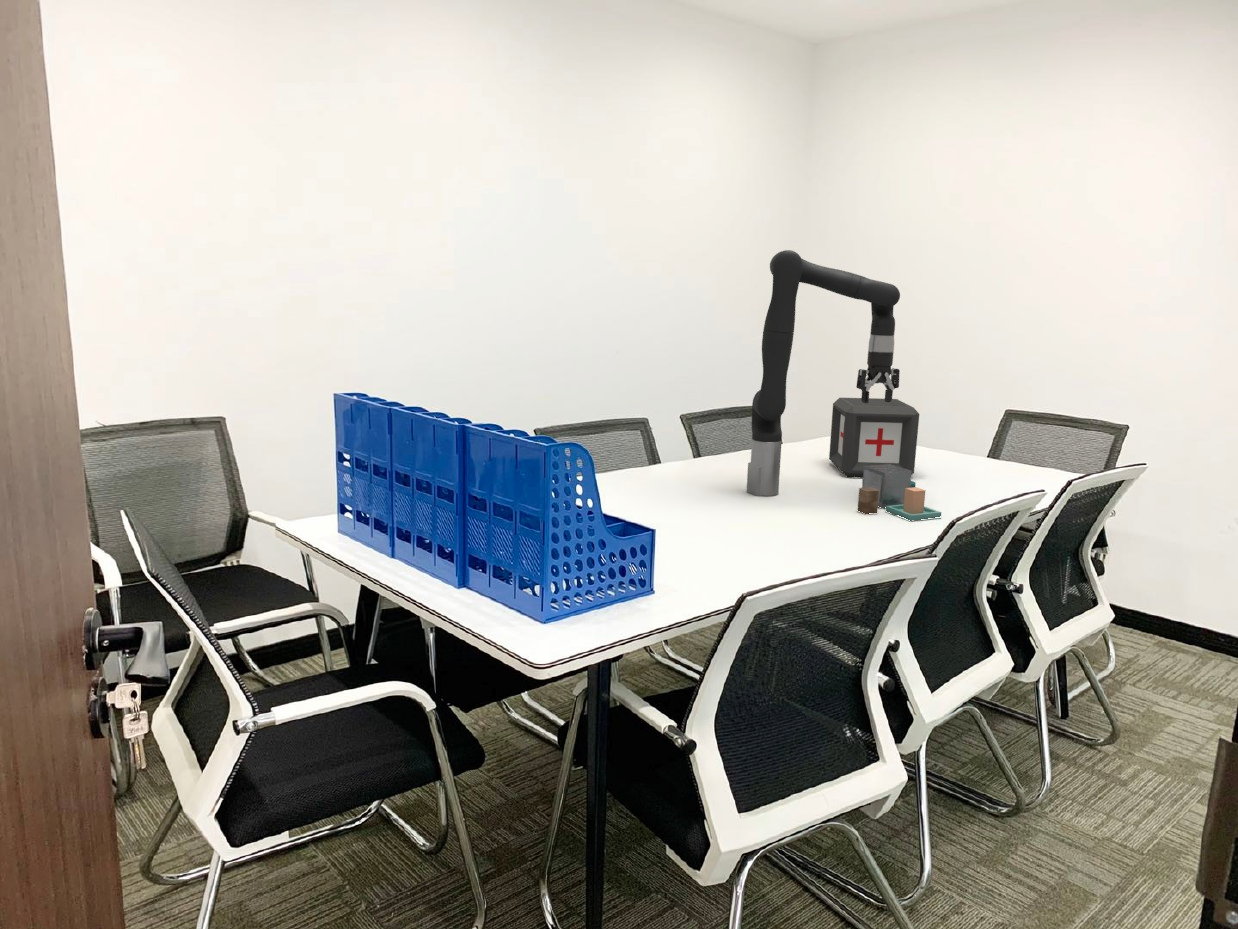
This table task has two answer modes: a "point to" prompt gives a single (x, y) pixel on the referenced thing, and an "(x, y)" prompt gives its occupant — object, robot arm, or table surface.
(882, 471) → the grey unit
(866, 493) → the walnut block
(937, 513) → the teal tray
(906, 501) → the terracotta block
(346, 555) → the table surface
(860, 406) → the first aid kit
